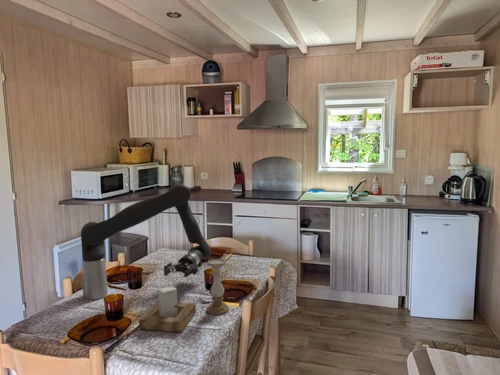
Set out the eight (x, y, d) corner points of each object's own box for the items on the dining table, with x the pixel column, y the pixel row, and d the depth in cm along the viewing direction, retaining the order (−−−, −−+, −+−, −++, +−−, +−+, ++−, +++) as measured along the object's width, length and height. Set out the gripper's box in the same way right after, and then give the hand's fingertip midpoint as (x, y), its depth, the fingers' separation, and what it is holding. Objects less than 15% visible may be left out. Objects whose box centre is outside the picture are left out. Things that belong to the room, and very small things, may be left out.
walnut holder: (139, 329, 134) (138, 319, 134) (158, 310, 150) (157, 301, 150) (181, 333, 131) (180, 322, 131) (195, 313, 147) (195, 303, 147)
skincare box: (163, 324, 137) (161, 292, 136) (158, 319, 141) (157, 289, 140) (178, 319, 141) (177, 289, 139) (174, 315, 144) (172, 285, 143)
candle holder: (232, 307, 152) (230, 259, 150) (223, 316, 144) (222, 265, 142) (212, 304, 155) (211, 257, 153) (203, 313, 147) (201, 263, 145)
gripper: (173, 253, 168) (158, 264, 153) (203, 255, 166) (191, 266, 150) (174, 269, 169) (159, 281, 153) (204, 271, 167) (191, 284, 151)
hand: (175, 274), depth 152 cm, fingers open, 8 cm apart
